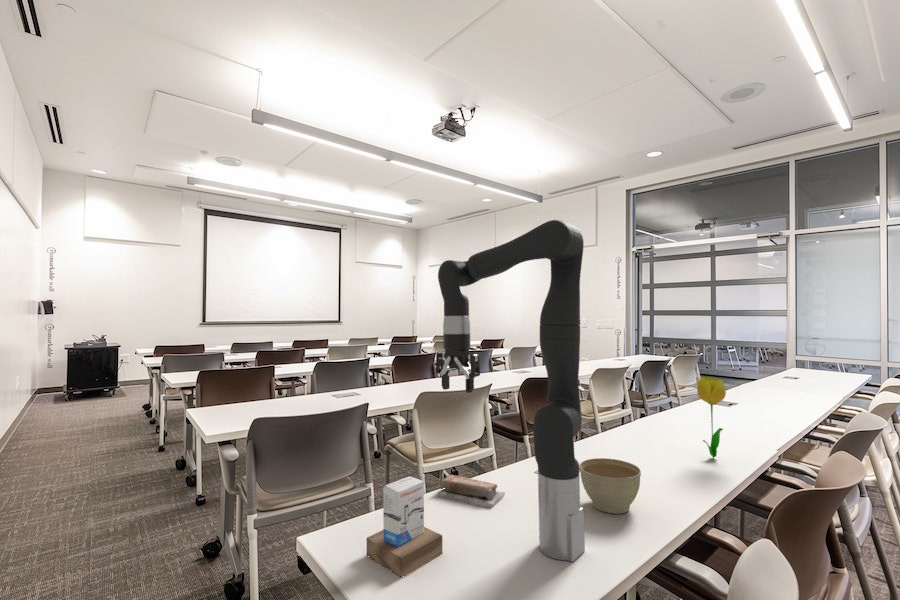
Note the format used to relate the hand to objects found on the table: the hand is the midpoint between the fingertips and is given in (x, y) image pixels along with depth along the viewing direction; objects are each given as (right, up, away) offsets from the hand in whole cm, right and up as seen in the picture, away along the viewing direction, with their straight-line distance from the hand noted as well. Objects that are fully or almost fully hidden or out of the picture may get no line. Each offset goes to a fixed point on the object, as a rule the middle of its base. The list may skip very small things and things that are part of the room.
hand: (457, 390), depth 117 cm
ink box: (-12, -28, -22) cm, 38 cm away
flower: (+96, -34, +39) cm, 109 cm away
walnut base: (-12, -32, -22) cm, 41 cm away
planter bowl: (+43, -33, 0) cm, 54 cm away
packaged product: (+4, -34, +9) cm, 35 cm away
